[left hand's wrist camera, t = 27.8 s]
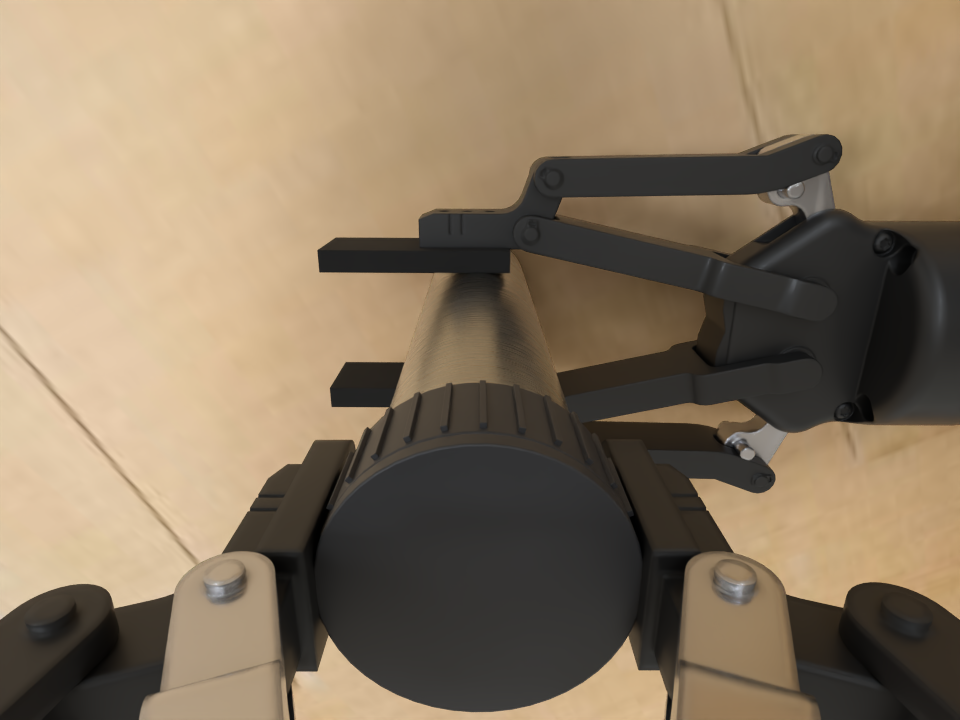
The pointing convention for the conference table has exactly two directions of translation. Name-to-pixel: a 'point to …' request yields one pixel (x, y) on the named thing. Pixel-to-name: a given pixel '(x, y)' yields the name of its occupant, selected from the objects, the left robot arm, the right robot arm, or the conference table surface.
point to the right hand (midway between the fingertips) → (335, 321)
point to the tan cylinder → (479, 337)
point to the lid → (478, 551)
